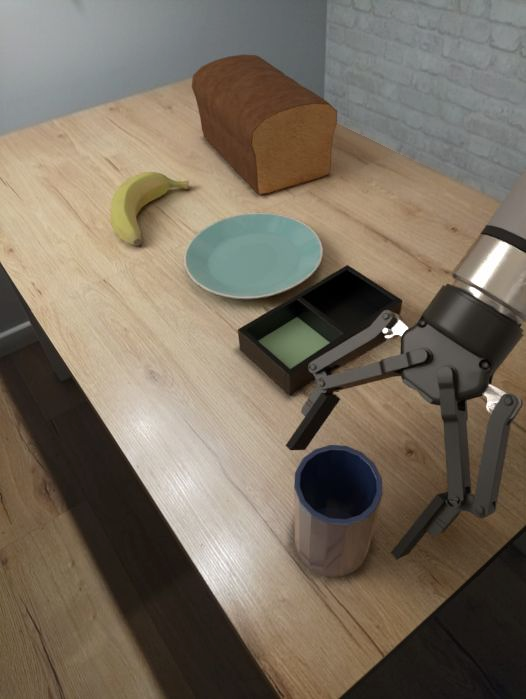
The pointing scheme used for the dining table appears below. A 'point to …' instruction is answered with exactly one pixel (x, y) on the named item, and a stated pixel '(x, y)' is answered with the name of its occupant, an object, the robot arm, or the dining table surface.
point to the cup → (335, 508)
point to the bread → (264, 122)
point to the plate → (253, 255)
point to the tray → (313, 325)
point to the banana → (137, 202)
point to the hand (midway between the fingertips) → (343, 496)
